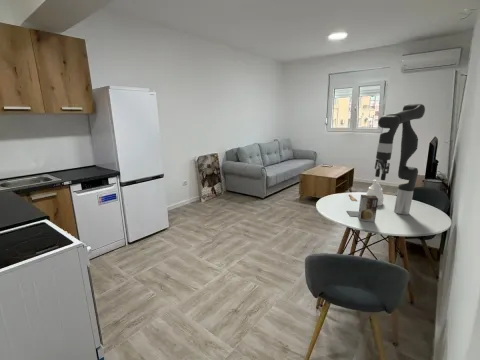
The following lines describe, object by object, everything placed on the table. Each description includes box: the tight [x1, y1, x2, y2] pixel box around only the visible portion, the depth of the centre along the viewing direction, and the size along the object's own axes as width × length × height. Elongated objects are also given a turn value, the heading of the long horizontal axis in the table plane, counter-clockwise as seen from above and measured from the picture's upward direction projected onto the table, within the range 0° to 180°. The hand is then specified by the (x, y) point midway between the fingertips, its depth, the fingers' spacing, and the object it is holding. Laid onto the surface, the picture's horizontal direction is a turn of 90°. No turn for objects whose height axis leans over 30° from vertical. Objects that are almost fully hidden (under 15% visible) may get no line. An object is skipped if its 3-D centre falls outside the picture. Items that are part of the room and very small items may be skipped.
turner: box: [348, 194, 358, 202], centre depth 216 cm, size 15×4×1 cm, turn 172°
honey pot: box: [365, 179, 385, 206], centre depth 204 cm, size 13×13×18 cm
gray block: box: [346, 210, 359, 218], centre depth 179 cm, size 10×16×1 cm, turn 82°
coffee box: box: [357, 194, 378, 223], centre depth 169 cm, size 9×6×16 cm
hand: (379, 178), depth 154 cm, fingers open, 8 cm apart
